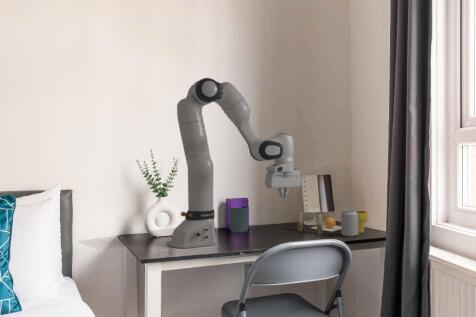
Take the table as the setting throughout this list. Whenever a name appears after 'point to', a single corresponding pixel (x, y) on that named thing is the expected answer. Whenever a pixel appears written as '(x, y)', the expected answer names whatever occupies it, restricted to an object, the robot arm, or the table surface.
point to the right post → (319, 223)
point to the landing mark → (329, 228)
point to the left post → (299, 221)
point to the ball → (329, 222)
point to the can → (349, 223)
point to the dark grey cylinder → (239, 219)
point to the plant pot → (361, 220)
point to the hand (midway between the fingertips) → (283, 197)
